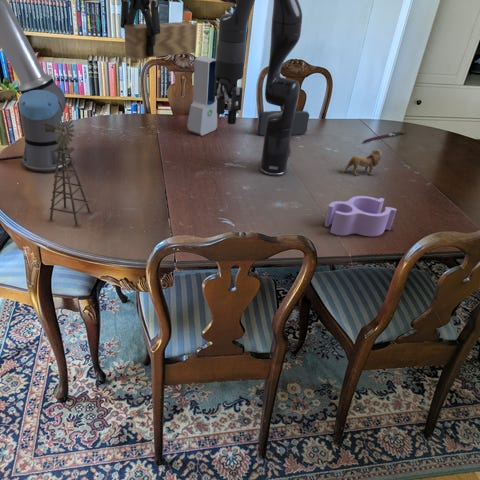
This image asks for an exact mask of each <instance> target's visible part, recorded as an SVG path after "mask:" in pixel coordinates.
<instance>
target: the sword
mask: <svg viewBox="0 0 480 480" xmlns="http://www.w3.org/2000/svg"><path fill="white" fill-rule="evenodd" d="M401 132H402V131H396V132H394V131H392V132H391V133H387V134H383V135H377V136H374V137H369V138H367V139H365V140H363V144H365V143H367V142H370V141H373V140H377V139H382V138H387V137H393V136H397V135H401V134H402V133H401ZM406 133H407V131H406V132H405V133H404V134H406Z"/></svg>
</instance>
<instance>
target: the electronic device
mask: <svg viewBox="0 0 480 480" xmlns="http://www.w3.org/2000/svg"><path fill="white" fill-rule="evenodd" d="M193 67H194V71H193V73H194V74H193V93H192V95H193V96H192V103H191V104H190V107H189V112H188V113H189V114H188V117H187V124H186V126H187V129H188V131H189V133H191V134H195V135H198V136H201V137H202V136H205V135H207V134H210V133H213V132H214V131H216V130H217V128H218V114H217V100H216V96H214V89H215V77H216V75H215V68H216V58H213V57H208V56H204V55H198V56H196V57H195V58H194V66H193Z"/></svg>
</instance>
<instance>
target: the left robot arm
mask: <svg viewBox="0 0 480 480" xmlns="http://www.w3.org/2000/svg"><path fill="white" fill-rule="evenodd" d="M120 3H121V6H120V28H121V29H124V25H134V24H135V20H136V17H137V14H138V11H140V12H141V13H140V14H142V16H143V19H144V24H146V27H147V30H148V34H147V56H153V55H154V48H153V46H155V35H156V34H160V23H161V22H160V14H159V12H160V11H159V7H160V6H159V5H160V1H159V0H120ZM0 48H1V50H2V52H3V54H4V56H5V58H6V59H7V62H8V63H9V65H10V67H11V69H12V70H13V72H14V73H15V76H16V77H17V79H18V81H19V86H18V90H19V92H20V96H19V98H18V109H19V110H18V111H19V114H20V119H21V125H22V132H23V137H24V148H23V153H22V155H17V156H16V155H15V156H6V157H1V158H0V162H5V161H13V160H21V161H22V166H23V168H24V169H25V170H27V171H29V172H33V173H39V174H46V173H56V165H57V162H56V159H57V157H58V153H57V152H53V151H52V150H54V149H56V148H57V147H59V146H58V145H57V144H58V142H59V141H58V142H56V139H57V138H58V137H59V136H60V135H59V136H58V137H56V138H55V135H56V134H58V132H45V125H44V123H45V124H49V125H52V126H54V127H56V125H55V124H57V125H58V126H59V123H58V122H57V119H58V120H59V122H60V124H61V125H62V123H61V120H62V119H61V120H60V117H61V118H63V117H62V113H63V114H64V113H65V109H66V107H67V106H66V105H67V101H66V95H65V93H64V91H63V89H62V88H61V87H59V85H58V84H56V81H55V80H54V78H53V76H52V75H50V74H48V73H46V72H45V70H44V68H43V66H42V65H41V63H40V61H39V58H38V57H37V55H36V53H35V51H34V49H33V47H32V45H31V44H30V41H29V40H28V38H27V35H26V34H25V32H24V29H23V28H22V26H21V24H20V22H19V20H18V18H17V16H16V15H15V13H14V10H13V8H12V7H11V5H10V3H9V1H8V0H0ZM59 116H60V117H59ZM60 127H61V126H60ZM61 128H62V127H61ZM56 129H58V128H57V127H56ZM59 133H60V132H59ZM59 140H60V139H59ZM64 151H66V150H64ZM61 155H62V153H60V156H61ZM65 156H67V157H69V156H68V154H65ZM67 160H69V158H66V161H67ZM59 161H62V157H61V158H60V159H59ZM60 163H61V162H59V164H60ZM70 166H71V162H70V161H69V162H68V163H67V167H68V168H69V167H70ZM64 169H66V168H65V163H64ZM60 171H62V164H61V165H60V166H59V168H58V172H60Z"/></svg>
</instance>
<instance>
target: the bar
mask: <svg viewBox="0 0 480 480" xmlns="http://www.w3.org/2000/svg"><path fill="white" fill-rule="evenodd" d="M123 29H124V51H125V54H124V55H125V56H127V57H130V58H132V59H136V60H139V59H147V58H157V57H166V56H175V55H176V56H177V55H186V54H195V53H196V46H197V45H196V43H197V41H196V40H197V24H195V23H191V22H187V21H180V22H179V21H178V22H177V21H176V22H160V34H156V35H155V46H153V48H154V55H153V56H147V34H148V30H147V27H146V23H139V24H138V23H136V24H135V23H134V25H124V28H123Z"/></svg>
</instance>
